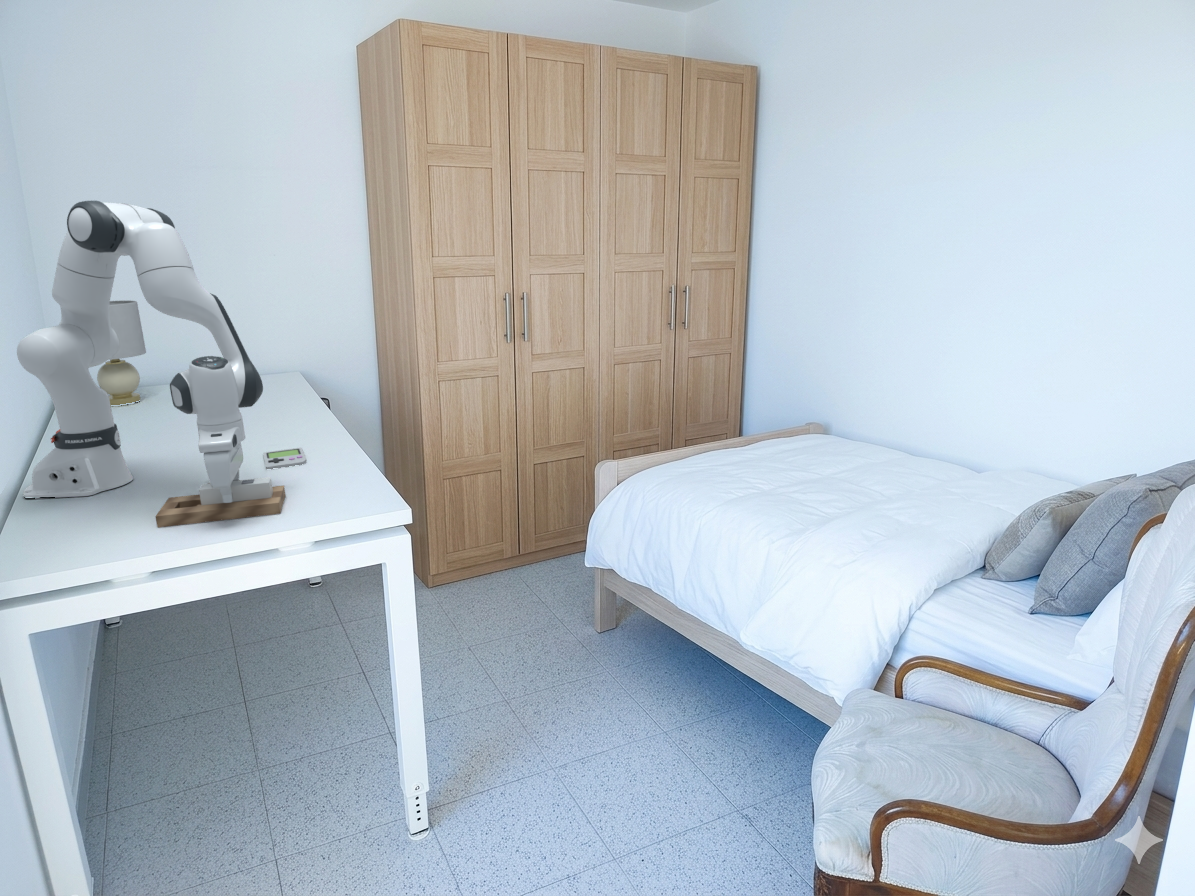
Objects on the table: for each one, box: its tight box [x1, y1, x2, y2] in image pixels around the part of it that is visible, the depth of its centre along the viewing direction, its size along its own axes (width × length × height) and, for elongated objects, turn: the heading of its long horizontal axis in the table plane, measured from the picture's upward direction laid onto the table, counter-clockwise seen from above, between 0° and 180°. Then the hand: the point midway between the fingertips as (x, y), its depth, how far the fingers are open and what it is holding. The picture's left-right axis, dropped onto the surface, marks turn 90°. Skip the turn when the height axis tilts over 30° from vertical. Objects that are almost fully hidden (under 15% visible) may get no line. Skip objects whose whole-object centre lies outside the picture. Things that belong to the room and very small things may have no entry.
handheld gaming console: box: [262, 447, 307, 470], centre depth 209 cm, size 10×2×15 cm
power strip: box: [198, 476, 274, 505], centre depth 172 cm, size 14×4×6 cm, turn 106°
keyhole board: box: [154, 485, 287, 528], centre depth 172 cm, size 24×12×2 cm, turn 106°
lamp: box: [96, 299, 147, 405], centre depth 277 cm, size 20×20×35 cm
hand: (232, 494), depth 172 cm, fingers open, 8 cm apart
